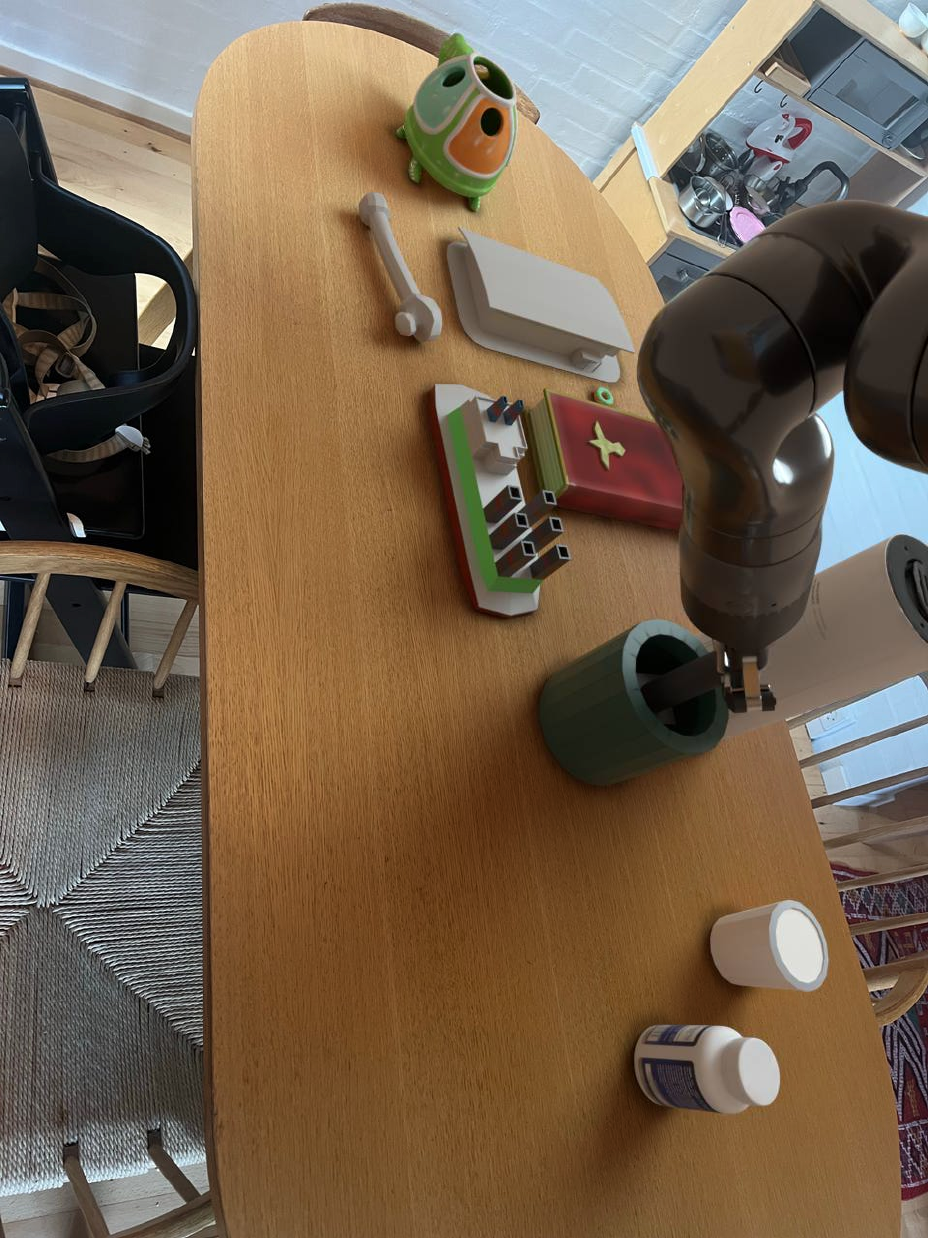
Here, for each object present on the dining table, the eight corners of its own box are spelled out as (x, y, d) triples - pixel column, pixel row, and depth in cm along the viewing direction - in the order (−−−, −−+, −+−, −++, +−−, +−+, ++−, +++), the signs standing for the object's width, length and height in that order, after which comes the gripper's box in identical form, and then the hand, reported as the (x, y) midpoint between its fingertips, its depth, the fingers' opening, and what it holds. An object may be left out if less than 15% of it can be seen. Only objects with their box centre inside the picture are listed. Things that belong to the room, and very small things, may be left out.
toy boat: (469, 617, 67) (520, 578, 61) (422, 383, 76) (462, 329, 70) (540, 619, 71) (594, 583, 65) (488, 398, 80) (531, 347, 74)
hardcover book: (690, 536, 88) (718, 518, 85) (543, 507, 78) (568, 485, 74) (666, 449, 93) (691, 428, 90) (523, 410, 82) (546, 385, 79)
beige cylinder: (715, 769, 75) (990, 681, 55) (635, 720, 72) (893, 609, 52) (724, 680, 81) (974, 572, 61) (650, 632, 78) (886, 501, 58)
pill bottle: (680, 1116, 58) (785, 1132, 51) (626, 1091, 57) (726, 1103, 49) (689, 1039, 61) (790, 1043, 54) (638, 1013, 60) (734, 1014, 52)
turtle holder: (466, 122, 100) (517, 32, 90) (494, 226, 93) (552, 140, 84) (380, 84, 93) (425, -18, 84) (403, 193, 87) (455, 95, 78)
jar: (649, 785, 70) (743, 754, 62) (550, 786, 64) (639, 752, 56) (624, 669, 74) (709, 626, 66) (530, 661, 69) (609, 611, 60)
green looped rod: (658, 445, 93) (664, 441, 92) (591, 401, 89) (597, 396, 88) (659, 431, 94) (665, 426, 93) (593, 387, 90) (599, 382, 89)
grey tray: (625, 387, 94) (646, 366, 91) (464, 341, 82) (483, 316, 79) (596, 290, 99) (616, 268, 96) (442, 234, 87) (459, 207, 84)
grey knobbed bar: (435, 354, 79) (454, 329, 76) (391, 347, 76) (408, 320, 73) (394, 219, 84) (409, 191, 81) (350, 208, 81) (365, 178, 78)
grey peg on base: (651, 735, 66) (785, 680, 56) (613, 733, 64) (744, 676, 53) (641, 686, 68) (768, 624, 57) (602, 683, 66) (728, 618, 55)
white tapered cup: (759, 1005, 66) (829, 1005, 61) (700, 976, 64) (768, 973, 59) (763, 925, 70) (830, 918, 65) (708, 895, 68) (772, 886, 63)
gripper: (840, 660, 40) (802, 761, 55) (794, 452, 47) (771, 592, 62) (692, 671, 42) (693, 766, 57) (668, 470, 49) (675, 601, 64)
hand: (734, 675), depth 59 cm, fingers closed on grey peg on base, 2 cm apart
